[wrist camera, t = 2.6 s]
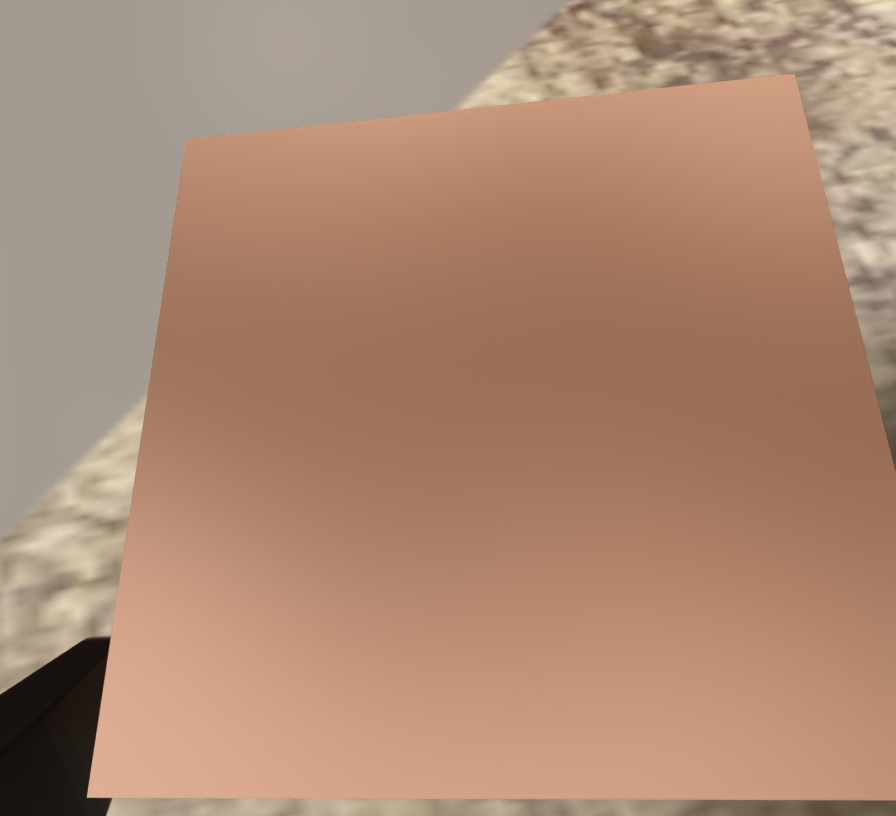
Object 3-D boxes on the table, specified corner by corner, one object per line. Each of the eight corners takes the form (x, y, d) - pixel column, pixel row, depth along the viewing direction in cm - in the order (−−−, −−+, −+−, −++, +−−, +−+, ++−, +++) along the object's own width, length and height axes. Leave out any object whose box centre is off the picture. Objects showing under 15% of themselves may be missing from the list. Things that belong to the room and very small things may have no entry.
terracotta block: (644, 705, 16) (979, 801, 4) (424, 708, 16) (86, 797, 4) (621, 488, 18) (795, 73, 5) (423, 497, 18) (185, 139, 6)
